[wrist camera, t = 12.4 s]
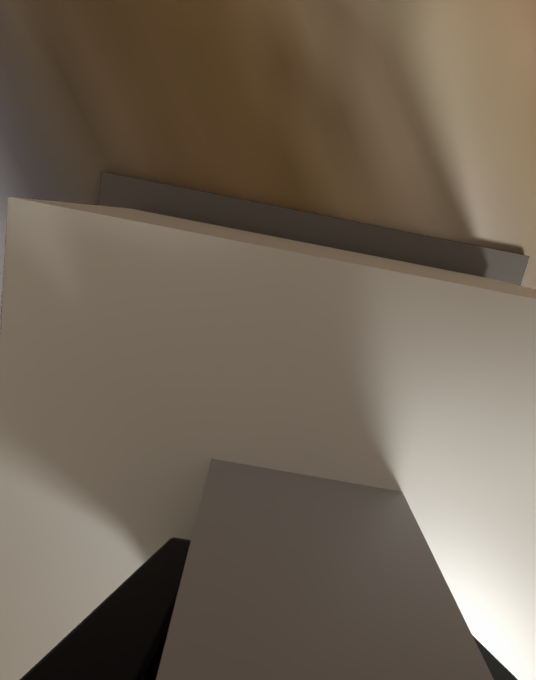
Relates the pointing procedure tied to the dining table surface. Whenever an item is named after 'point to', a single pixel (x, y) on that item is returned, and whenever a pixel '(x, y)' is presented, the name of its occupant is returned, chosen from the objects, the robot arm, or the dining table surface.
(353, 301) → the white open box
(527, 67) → the dining table surface
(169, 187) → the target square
